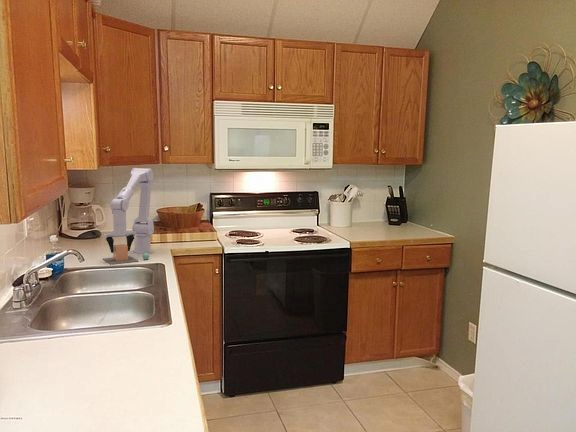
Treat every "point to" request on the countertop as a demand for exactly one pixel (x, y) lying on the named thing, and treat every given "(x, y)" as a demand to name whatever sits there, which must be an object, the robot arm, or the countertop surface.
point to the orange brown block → (120, 252)
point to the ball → (145, 256)
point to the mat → (112, 261)
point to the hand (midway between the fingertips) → (120, 251)
